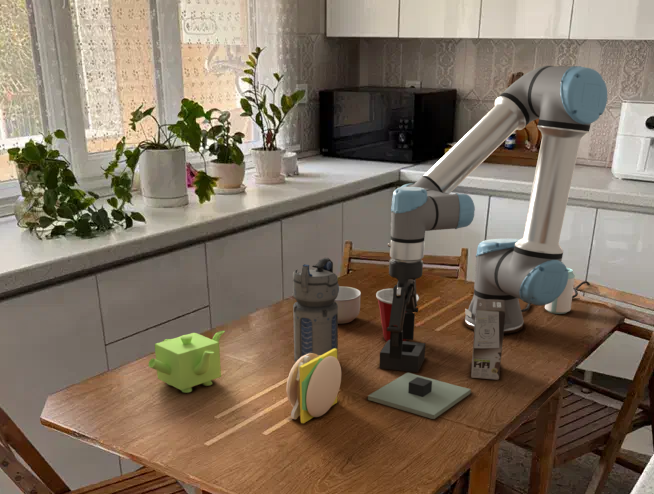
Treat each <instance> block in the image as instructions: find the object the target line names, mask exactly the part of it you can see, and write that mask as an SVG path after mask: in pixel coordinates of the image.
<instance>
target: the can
mask: <svg viewBox="0 0 654 494" xmlns="http://www.w3.org/2000/svg"><path fill="white" fill-rule="evenodd" d="M566 269H567V270H568V282H567V285H566V287H565V289H564V291H563V292H562V294H561V295H560V296H559V297H558V298H556V299H555V300H554V301H553V302H551V303H549V304H547V305H544V310H546V311H547V312H549V313H551V314H556V315H564V314H567V313H568V312H570V311H571V309H572V302H573V298H572V296H573V295H574V294H573V293H574V285H575V280H576V279H575V278H576V276H575V273H574V269H572V268H570V267H566Z"/></svg>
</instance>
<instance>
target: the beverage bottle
mask: <svg viewBox="0 0 654 494" xmlns="http://www.w3.org/2000/svg"><path fill="white" fill-rule="evenodd" d="M311 267H312V268H313V269H311V268H310V264H304V263H303V265H302V267H301V271H299V270H298V269H299V268H296V269H294V270H293V273H292V296H293V298H294V299H295V301H296V302H294V303H293V305H292V307H293V308H292V309H293V310H292V311H293V348H294V349H293V357H294V359H293V361H294V362H295V363H296V361H297V360H298V359H299V358H301V357H302V356H304V355H306V354H309V353H314V354H317V355H322V354H324V353H326V352H328V351H330V350H332V349H334V348H335V349H337V360H338V361H339V358H338V357H339V345H338V344H339V343H338V342H339V330H338V329H339V325H338V324H339V323H338V304H337V303H336V302H335V299H336V298H337V296H338V293H339V287H340V284H339V281H338V275H337V274H336V273H335V272H334V262H333V261H332V260H331V259H330V258H329V257H322V258H321V259H319V260H318V262H317V263H316V264H313V265H311Z"/></svg>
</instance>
